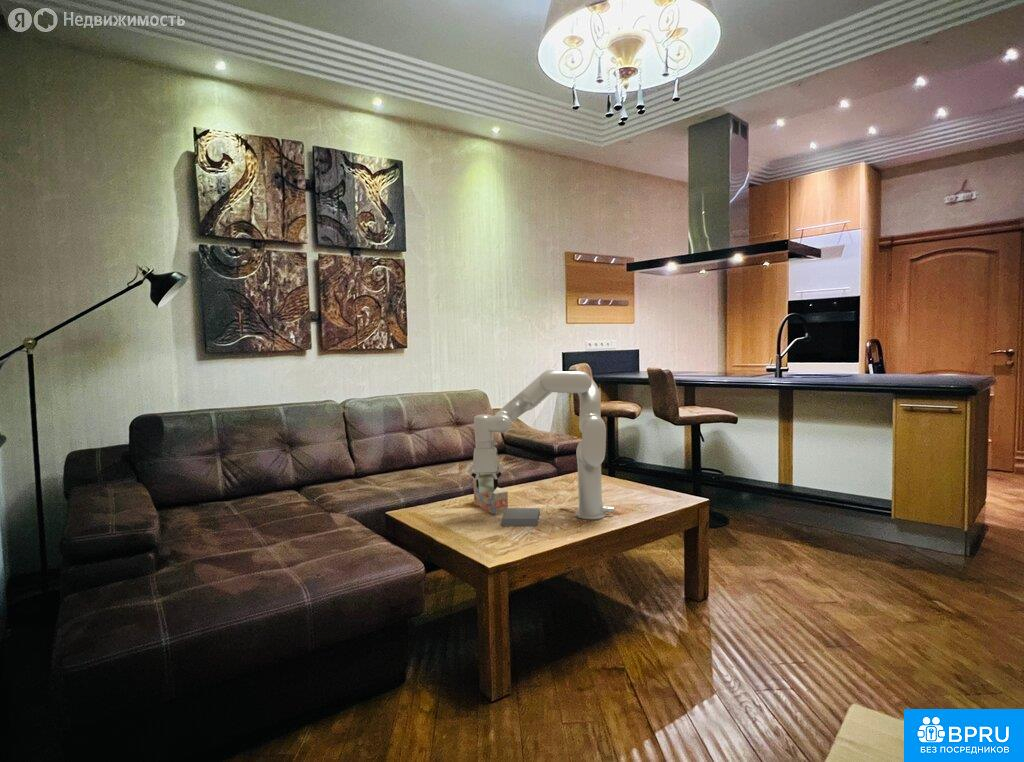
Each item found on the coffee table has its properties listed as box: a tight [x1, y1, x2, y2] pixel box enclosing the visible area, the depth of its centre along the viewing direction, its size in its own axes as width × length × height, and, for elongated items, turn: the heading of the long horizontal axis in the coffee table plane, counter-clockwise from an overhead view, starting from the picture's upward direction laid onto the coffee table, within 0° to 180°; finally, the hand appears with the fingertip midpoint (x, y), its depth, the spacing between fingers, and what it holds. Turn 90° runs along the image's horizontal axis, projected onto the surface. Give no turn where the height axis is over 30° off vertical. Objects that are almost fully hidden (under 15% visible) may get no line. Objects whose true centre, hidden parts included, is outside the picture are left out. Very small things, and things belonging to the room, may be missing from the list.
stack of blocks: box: [472, 477, 509, 516], centre depth 242 cm, size 21×6×12 cm, turn 29°
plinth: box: [501, 507, 541, 527], centre depth 222 cm, size 14×14×3 cm
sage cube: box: [478, 473, 495, 493], centre depth 223 cm, size 6×6×6 cm
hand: (487, 488), depth 224 cm, fingers closed on sage cube, 6 cm apart
